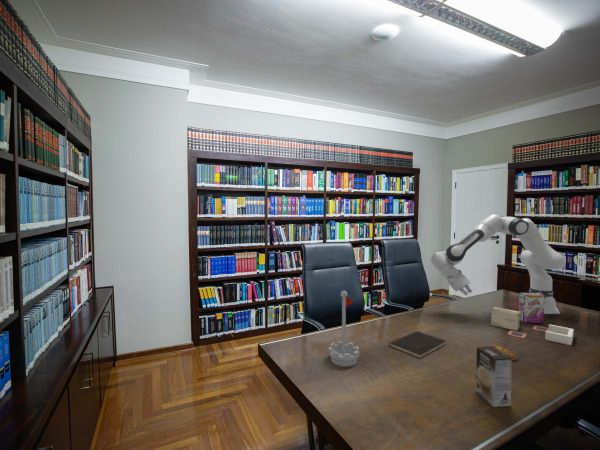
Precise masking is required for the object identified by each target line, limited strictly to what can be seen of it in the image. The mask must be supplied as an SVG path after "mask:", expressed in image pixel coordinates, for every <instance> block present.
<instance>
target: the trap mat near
mask: <svg viewBox="0 0 600 450" xmlns="http://www.w3.org/2000/svg"><path fill="white" fill-rule="evenodd" d="M507 336H512V337H515V338H516V337H517V338H521V339H525V338H526V337H527V333H524V332H519V331H516V330H509V331H508V333H507Z"/></svg>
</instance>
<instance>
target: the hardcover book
mask: <svg viewBox="0 0 600 450" xmlns="http://www.w3.org/2000/svg"><path fill="white" fill-rule="evenodd" d="M446 342H447V340H445V339H443V338H439V337H436V336H434V335H430V334H428V333H424V332H421V331H419V330H416V331H414V332H412V333H409V334H407V335H404V336H402V337H400V338H397V339H395V340H393V341H391V342H389V343H388V346H389V347H392V348H394V349H397V350H399V351H402V352H405V353H407V354H409V355H412V356H414V357H417V358H419V359H420V358H423V357H425V356H426V355H428V354H431V353H432V352H434V351H435V350H437V349H439V348H441V347H443V346H445V345H446Z"/></svg>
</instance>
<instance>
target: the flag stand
mask: <svg viewBox="0 0 600 450" xmlns="http://www.w3.org/2000/svg"><path fill="white" fill-rule="evenodd" d="M340 297H341V299H342V300H341V331H342V332H341V341H337V343H334V342H331V343H330V344H329V347H328V354H329V356H330V361H331V362H332V363H333V364H334V365H336V366H339V367H352V366H355V365H356V363H357V362H358V361H357V360H358V357H360V347H359V345H356V346H355V343H354V342H348V343H346V341H347V340H346V339H347V338H346V336H347V335H346V334H347V333H346V330H347V329H346V327H347V326H346V325H347V324H346V323H347V322H346V321H347V320H346V319H347V317H346V314H347V312H346V311H347V309H346V308H347V307H348V306H350V305H351V304H352V303H353V302H354V300H352V299H350V298H348V292H347V290H342V291H341V292H340Z"/></svg>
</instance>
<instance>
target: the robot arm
mask: <svg viewBox="0 0 600 450" xmlns="http://www.w3.org/2000/svg"><path fill="white" fill-rule="evenodd" d="M498 232H499V233H501V234H505V235H513V236H518V239H519V240H520V243H521V244H522V246H523V248H524V249H525V250H523V251H522V252H521V253H520V255H519V256H520V257H519V260H520V261H521V263H522V264H524V266H525V267H526V269H527V271H528V274H529V278H530V279H529V280H530V282H529V283H530V285H529V286H530V287H529V289H528V293H539V294H542V295H545V300H544V315H560V314H561V313H560V311H559V309H558V306H557V304H556V299H555V298H554V297H553V296H554V290H553V278H552V276H551V275H550V274H548V273H547V271H546V269H548V270H561V269H563V268H564V267H565V265H566V264H567V263H566V262H567V260H566V257H565V256H564V254H562V253H559V252H558V251H556V250H555V249H553V247H551V246H550V245H549V244H548V243H547V242H546V241H545V239H544V237H543V236H542V234H541V232H540V230H539V229H538V227H537V225H536V224H535V223H534V222H533V221H532V220H531V219H530V218H528V217H524V218H520V217H514V216H505V215H498V214H496V213H493V214H489V215H488V216H487V217H485V218H483V219H482V220H481V221H479V222H478V223H477V224H476V225H475V226H474V227H473V228H472V230H471V232H470V233H469V234H468V235H466V236H465V237H464V238H462V239H461V241H458V242H457V243H455V244H451V245H449V246H448V247H447V249H446V250H445V251H437V252H435V253H433V255H432V257H431V258H430V263H432V265H433V266H434V268H436V270H437V271H438V272H440V273H441V275H442V276H443V278H445V280H446V281H447V283H448V284H449V286H450V287H451V289H452V290H453V291H455V292H458V291H460V293H462V294H463V295H465V296H468V295H469V294H471V293H472V292H473V290H472V289H471V287H470V284H471V282H470V280H469V279H468V277H466V275H465V274H463V271H462V270H461V269H458V268H456V267H455V266H456V265H457V266H458V265H459V264H461V262H462V261H463V259H464V257H465V256H466V253H467V251H468V250H470V249H471V248H472V247H473V246H475V244H477V243H479V242H482V243H483V242H486V241H489V239H491V238H492V237H494V236H495V235H496V234H497V233H498ZM465 289H466V290H465Z"/></svg>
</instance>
